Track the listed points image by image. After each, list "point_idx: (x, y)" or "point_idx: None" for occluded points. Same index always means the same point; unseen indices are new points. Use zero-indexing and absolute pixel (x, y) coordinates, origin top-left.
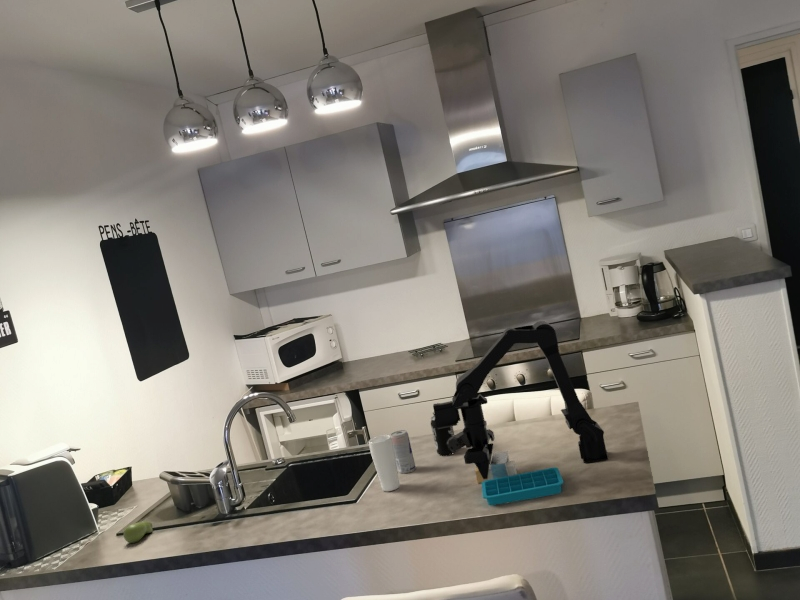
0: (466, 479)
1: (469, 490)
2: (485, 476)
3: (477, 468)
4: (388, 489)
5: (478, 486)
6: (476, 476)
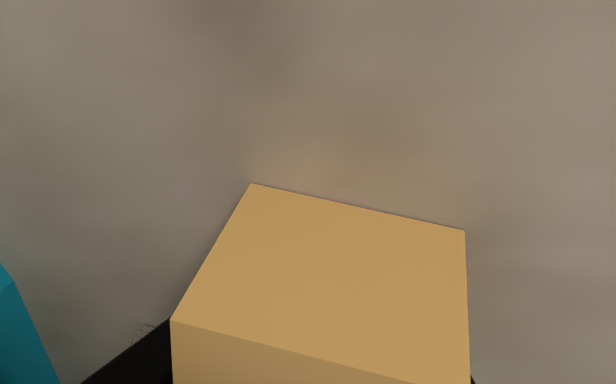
0: (542, 19)
1: (31, 47)
2: None
3: (292, 374)
4: None
5: (142, 175)
6: (214, 248)
